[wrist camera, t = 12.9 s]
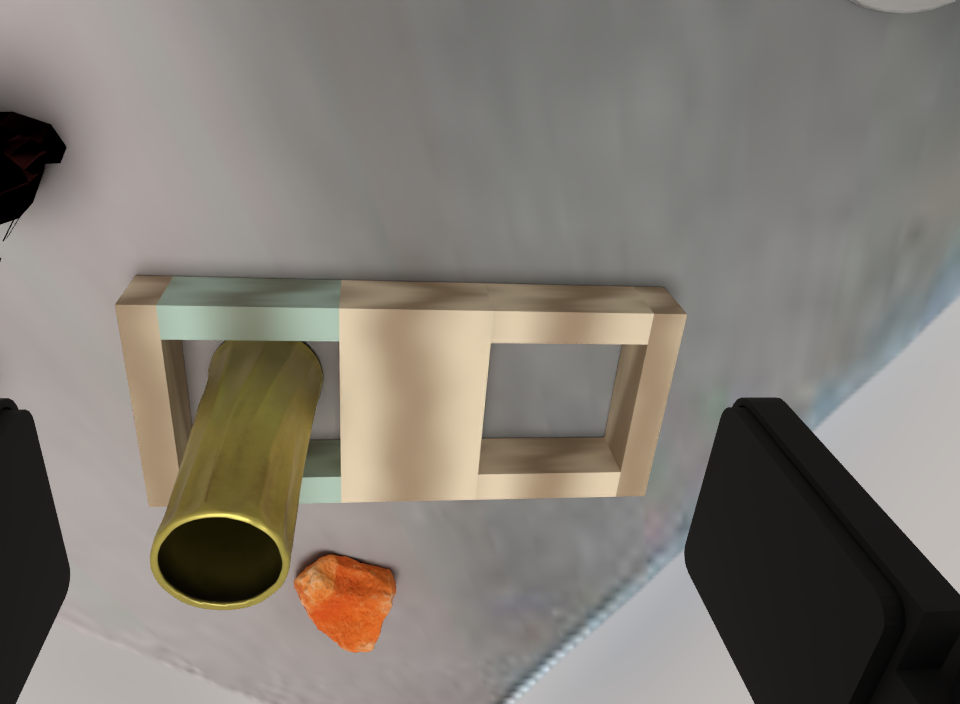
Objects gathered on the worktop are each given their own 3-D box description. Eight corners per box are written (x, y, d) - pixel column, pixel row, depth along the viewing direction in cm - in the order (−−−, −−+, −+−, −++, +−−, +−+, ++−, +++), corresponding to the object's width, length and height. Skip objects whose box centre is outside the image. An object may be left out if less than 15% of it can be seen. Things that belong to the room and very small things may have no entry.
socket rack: (664, 287, 42) (687, 314, 39) (626, 460, 47) (644, 495, 44) (135, 275, 37) (115, 304, 34) (164, 467, 43) (148, 506, 40)
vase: (333, 413, 43) (315, 605, 30) (226, 430, 42) (164, 631, 30) (310, 319, 40) (280, 490, 27) (195, 336, 39) (112, 517, 27)
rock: (297, 480, 46) (291, 527, 42) (469, 539, 50) (477, 586, 46) (225, 610, 50) (214, 663, 46) (389, 654, 54) (390, 706, 50)
